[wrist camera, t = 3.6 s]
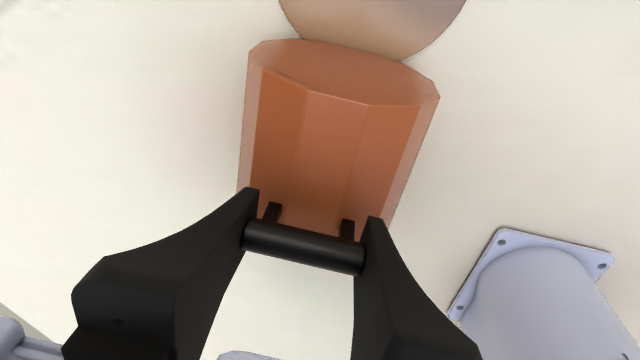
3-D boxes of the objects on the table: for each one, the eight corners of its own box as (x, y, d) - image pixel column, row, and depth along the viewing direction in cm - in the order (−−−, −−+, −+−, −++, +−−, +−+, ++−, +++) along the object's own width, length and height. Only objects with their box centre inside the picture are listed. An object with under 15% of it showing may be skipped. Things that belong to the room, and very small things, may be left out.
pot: (425, 64, 19) (382, 186, 24) (276, 29, 19) (260, 157, 24) (470, 156, 10) (388, 324, 15) (194, 91, 10) (192, 278, 15)
